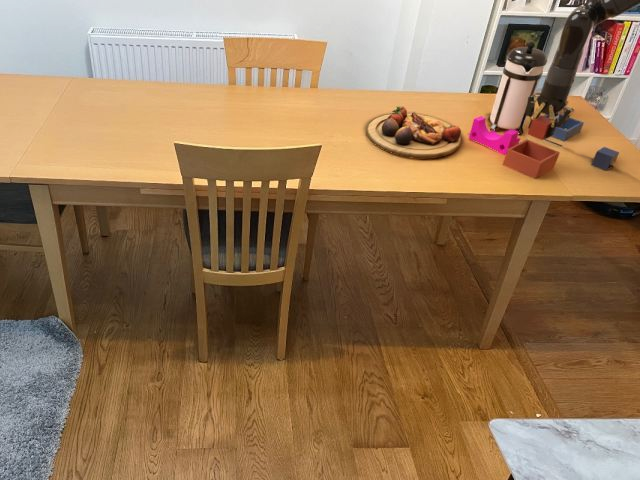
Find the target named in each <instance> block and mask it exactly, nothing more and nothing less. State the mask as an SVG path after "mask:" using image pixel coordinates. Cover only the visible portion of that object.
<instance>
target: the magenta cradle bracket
mask: <svg viewBox="0 0 640 480" xmlns="http://www.w3.org/2000/svg"><path fill="white" fill-rule="evenodd" d="M486 119H487V118H486V117H484V116H482V115H480V116H477V117H474V118H473V121H472V124H471V128H470V132H469V135H468V139H469V138H470V139H472V140H474V141H477V142H479V143H481V144H484V145H486V146H488V147H490V148H492V149H494V150H496V151H498V152H500V153H502V154H504V155H503V156H505V155H506V153H507V150H508V149H509V148H511V147H513V146H515V145H517V144H519V143H520V142H521V138H520V137H518V136H519V135H518V133H519V132H517V131H516V130H515V129H508V130H505V132H504V133H503V134H499V133H497V132H496V130H495V131H494V130H492V131H491V130H489V129H488V128H487V124H486V123H487V122H486V121H487V120H486ZM472 140H471V141H472ZM474 141H473V142H474ZM494 150H493V151H494ZM496 151H495V152H496ZM498 152H497V153H498ZM500 153H499V154H500ZM502 154H501V155H502Z"/></svg>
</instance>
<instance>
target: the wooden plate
mask: <svg viewBox="0 0 640 480" xmlns="http://www.w3.org/2000/svg"><path fill="white" fill-rule="evenodd" d="M391 112H392V113H390V114H385V115H381V116H378V117H377V118H374V119H373V120H372V121H371V122H370V123H369V124H368V126H367V129H366V135H367V137H368V139H369V141H370V142H371V143H372V142H373V143H372V144H374V145H375V144H376V145H377V146H376V145H375V146H376V147H378V146H379V147H380V148H379V147H378V148H379V149H381V148H382V149H381V150H383V149H384V150H383V151H385V150H387V151H389V152H388V153H390V152H392V153H391V154H393V153H395V154H394V155H396V154H398V155H397V156H399V155H402V156H401V157H404V156H407V157H406V158H409V157H413V158H412V159H420V158H426V159H436V158H437V157H438V158H442V156H443V157H446V156H448V155H451V154H453V153H455V152H456V151H458V149H459V147H460V146H461V143H462V138H461V137H462V136H461V134H462V130H461V128H460V126H458V125H453V126H452V125H451V124H450V123H448V122H446V121H444V120H442V119H440V118H436V117H432V116H429V115H425V114H421V113H420V114H419V113H416V112H415V111H413V112H411V113H409V112H408V110H407V108H406V107H404V106H396V108H395V109H394V110H392V111H391ZM387 151H386V152H387Z"/></svg>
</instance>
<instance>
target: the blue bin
mask: <svg viewBox="0 0 640 480" xmlns="http://www.w3.org/2000/svg"><path fill="white" fill-rule="evenodd" d="M544 116H545V117H547V118H550V115H548V114H545V115H544ZM562 116H563V113H561V114H559V118H558V122H559V121H560V119H561V118H562ZM584 123H585V122H584V121H581V120H578V119H575V118H574V117H571V116H570V117H569V118H568V120H567V121H566V123H565V124H564V125H563V126H561V127H559V128H558V127H556V129H555V131H554V134H553V135H552V136H551V137H550V138H553V139H556V140H559V141H561V142H566V141H568V140H569V139H571V138H573V137H574V136H576V135H578V134H581V132H582V128H583V126H584ZM543 141H546V142H549V143H551V144H554V145H557V146H559V147H563V145H562V144H559V143H557V142H555V141H552V140H549V139H548V138H545V139H543Z"/></svg>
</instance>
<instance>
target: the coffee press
mask: <svg viewBox="0 0 640 480" xmlns="http://www.w3.org/2000/svg"><path fill="white" fill-rule="evenodd" d="M526 45H527V46H518V47H515V48H513V49H511V50H510V51H509V52H508V53H507V54H506V62H505V64H504V66H503V70H502V76H501V78H500V79H501V80H500V82H499V85H498V89H497V92H496V95H495V99H494V102H493V105H492V109H491V112H490V116H488V120H489V119H490V122H491V124H492V125H491V126H490V128H489V131H491V130H494V129H495V131H497V129H498V128H500V129H503V130H511V129H513V130H515V131H517V132H519V133H521V134H520V135H521V136H522V135H523V134H524V133H525V130H524V126H525V123H526V121H527V118H528V116H527V115H526V112H527V102H528V97H530V96H532V95H535V94H536V91H537V88H538V86H539V83H540V80H541V79H542V76H543V73H544V69H545V66H546V64H547V63H548V59H547V54H546V53H545V52H543V50H541V49H539V48H535V47H536V46H535V45H536V44H535V42H534V41H529V42H528V43H527V44H526ZM535 96H536V95H535ZM520 135H519V136H520Z"/></svg>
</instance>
